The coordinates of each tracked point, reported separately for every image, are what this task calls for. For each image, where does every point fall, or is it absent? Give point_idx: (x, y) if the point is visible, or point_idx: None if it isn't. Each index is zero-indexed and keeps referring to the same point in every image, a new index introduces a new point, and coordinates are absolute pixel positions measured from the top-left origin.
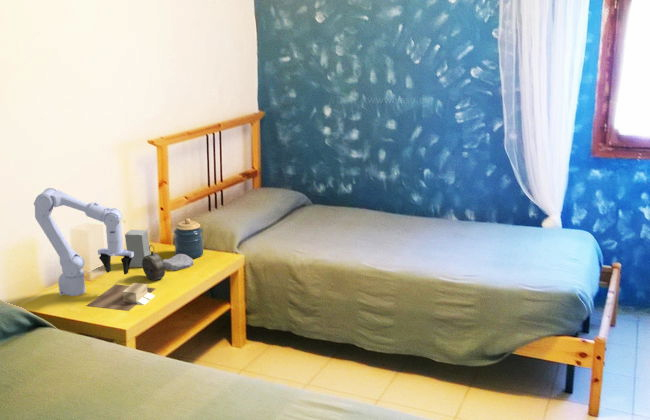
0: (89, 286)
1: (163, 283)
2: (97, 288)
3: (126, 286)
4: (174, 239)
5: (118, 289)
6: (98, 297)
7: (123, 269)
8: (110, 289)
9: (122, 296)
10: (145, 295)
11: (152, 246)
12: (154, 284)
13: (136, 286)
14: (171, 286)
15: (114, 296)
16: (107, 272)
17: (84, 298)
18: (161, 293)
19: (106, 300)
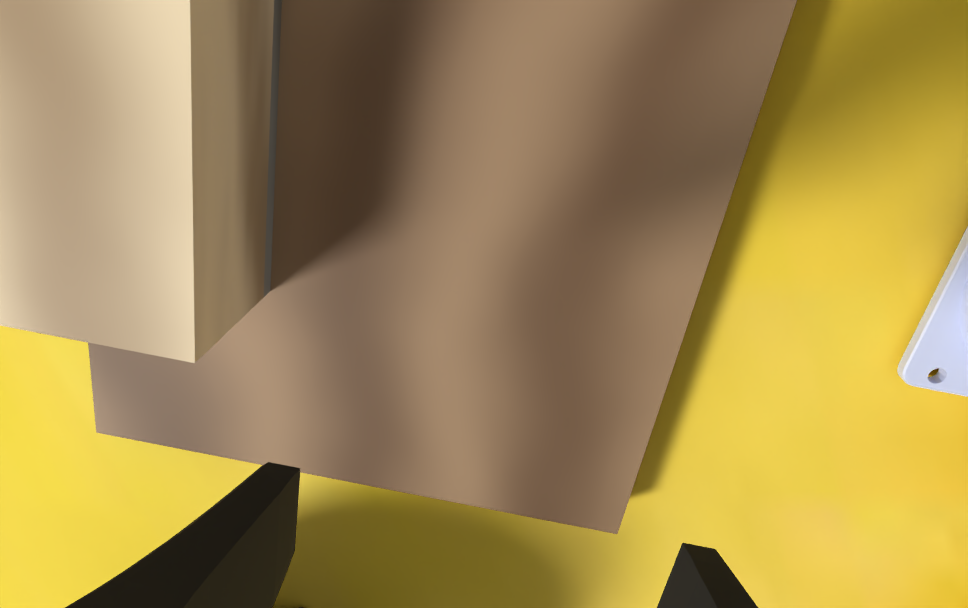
0: (934, 533)
1: None
2: (825, 486)
3: (460, 480)
4: None
5: (528, 399)
6: (737, 122)
7: (236, 537)
8: (633, 395)
9: (388, 179)
10: None
11: None
12: None
13: (68, 214)
14: (49, 534)
15: (503, 174)
16: (698, 548)
17: (951, 192)
18: (47, 376)
19: (577, 10)
